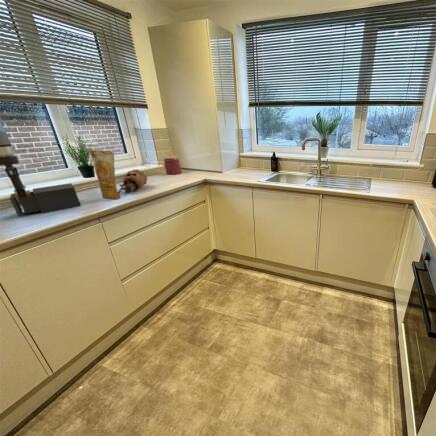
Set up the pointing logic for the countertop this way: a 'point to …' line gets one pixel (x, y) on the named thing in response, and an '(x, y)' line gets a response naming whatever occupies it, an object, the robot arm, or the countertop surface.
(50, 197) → the dark grey slanted block
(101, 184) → the pancake mix bag
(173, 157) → the kitchen canister
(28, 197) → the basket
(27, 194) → the block
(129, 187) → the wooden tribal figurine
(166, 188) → the countertop surface
